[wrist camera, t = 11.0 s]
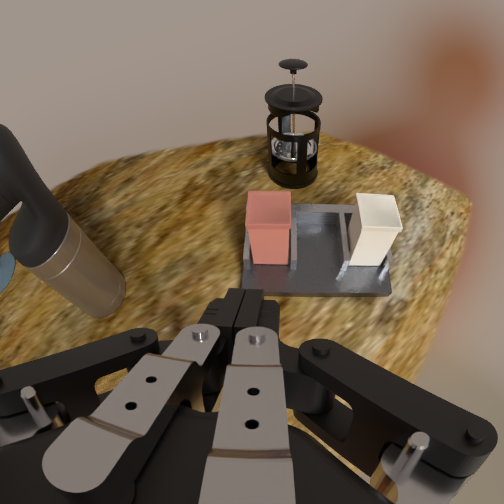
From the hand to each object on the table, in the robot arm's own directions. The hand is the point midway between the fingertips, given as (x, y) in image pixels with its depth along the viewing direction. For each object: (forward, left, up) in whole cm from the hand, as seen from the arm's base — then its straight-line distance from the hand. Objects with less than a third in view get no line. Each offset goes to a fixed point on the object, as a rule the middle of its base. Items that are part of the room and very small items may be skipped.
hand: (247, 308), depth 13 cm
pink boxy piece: (-4, +18, -26) cm, 32 cm away
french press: (-4, +38, -28) cm, 47 cm away
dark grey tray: (+3, +19, -28) cm, 34 cm away
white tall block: (+10, +21, -26) cm, 35 cm away
